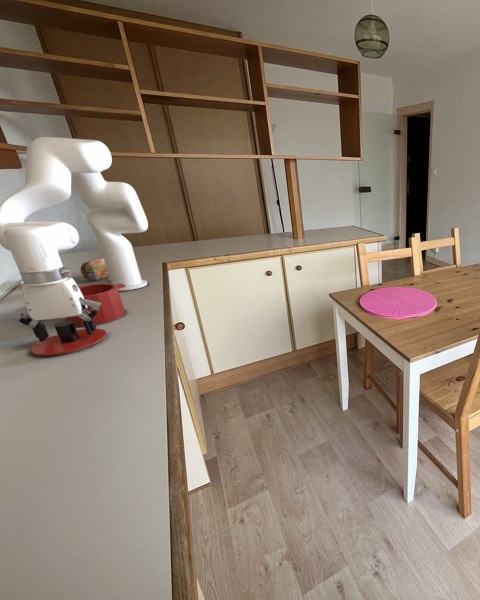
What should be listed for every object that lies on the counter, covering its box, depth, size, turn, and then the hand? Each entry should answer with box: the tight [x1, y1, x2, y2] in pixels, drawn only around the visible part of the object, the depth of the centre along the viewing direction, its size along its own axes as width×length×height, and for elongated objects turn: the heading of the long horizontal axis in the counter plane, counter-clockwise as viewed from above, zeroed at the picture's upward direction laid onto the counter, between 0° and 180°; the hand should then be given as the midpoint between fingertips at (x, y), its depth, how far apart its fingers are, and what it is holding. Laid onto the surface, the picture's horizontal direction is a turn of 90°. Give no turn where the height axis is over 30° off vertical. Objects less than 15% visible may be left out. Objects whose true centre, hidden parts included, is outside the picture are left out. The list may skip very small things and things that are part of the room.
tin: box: [80, 257, 110, 281], centre depth 140 cm, size 15×3×8 cm, turn 179°
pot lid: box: [30, 320, 107, 357], centre depth 85 cm, size 15×15×6 cm
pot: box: [65, 283, 126, 328], centre depth 100 cm, size 14×19×10 cm
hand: (68, 335), depth 85 cm, fingers open, 9 cm apart
